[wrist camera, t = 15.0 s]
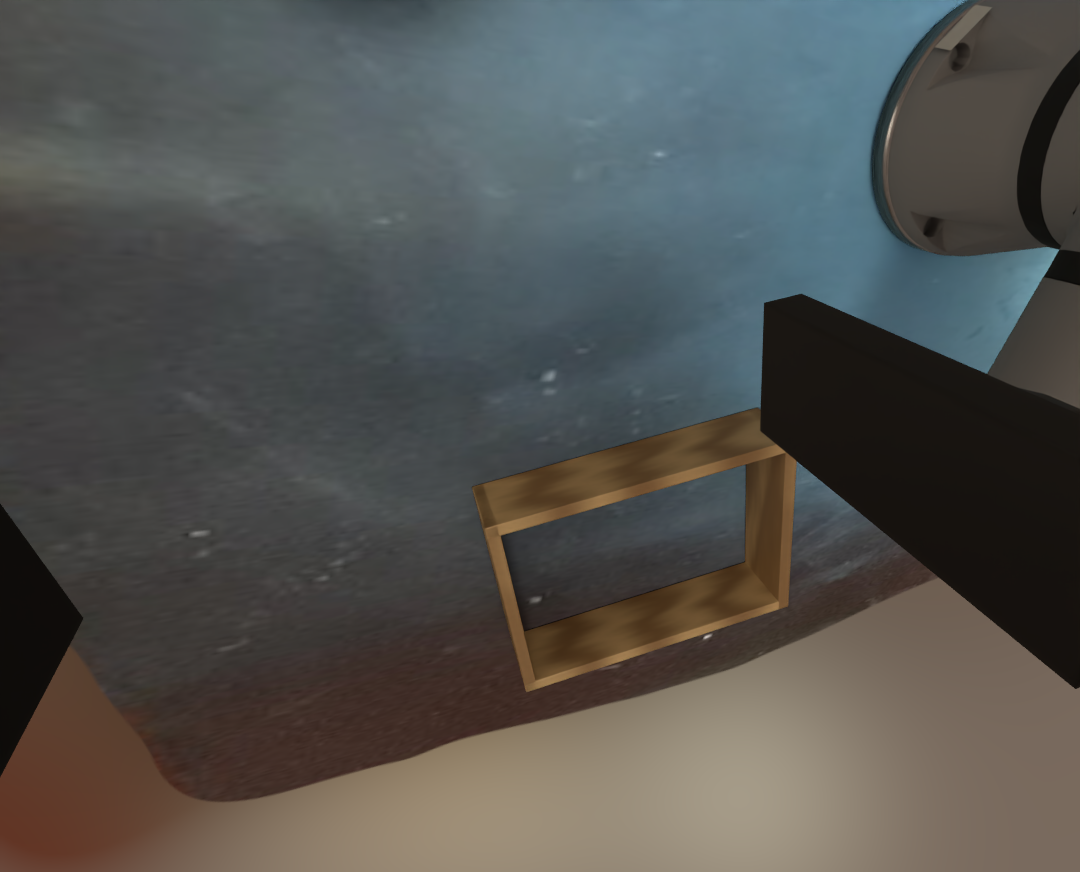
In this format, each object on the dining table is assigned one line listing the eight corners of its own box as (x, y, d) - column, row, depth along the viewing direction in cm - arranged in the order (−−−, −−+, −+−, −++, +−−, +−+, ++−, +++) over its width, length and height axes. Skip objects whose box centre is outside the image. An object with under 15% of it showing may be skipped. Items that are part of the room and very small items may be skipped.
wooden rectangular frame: (757, 407, 46) (798, 438, 42) (754, 566, 54) (788, 606, 50) (471, 486, 43) (484, 528, 39) (512, 643, 51) (526, 692, 47)
